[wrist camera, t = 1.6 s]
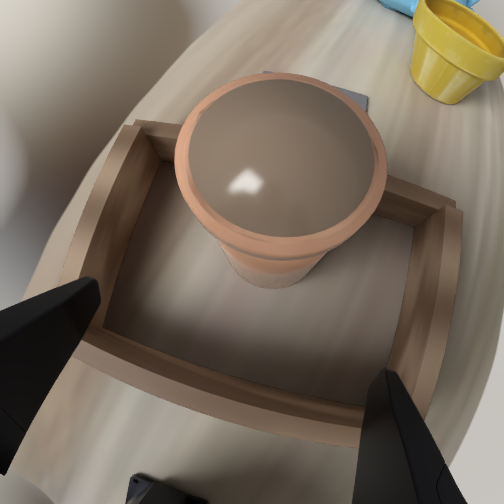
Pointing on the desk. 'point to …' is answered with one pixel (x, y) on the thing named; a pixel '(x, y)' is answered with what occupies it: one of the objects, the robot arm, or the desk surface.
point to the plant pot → (453, 50)
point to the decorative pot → (407, 4)
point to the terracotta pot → (279, 172)
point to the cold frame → (232, 388)
